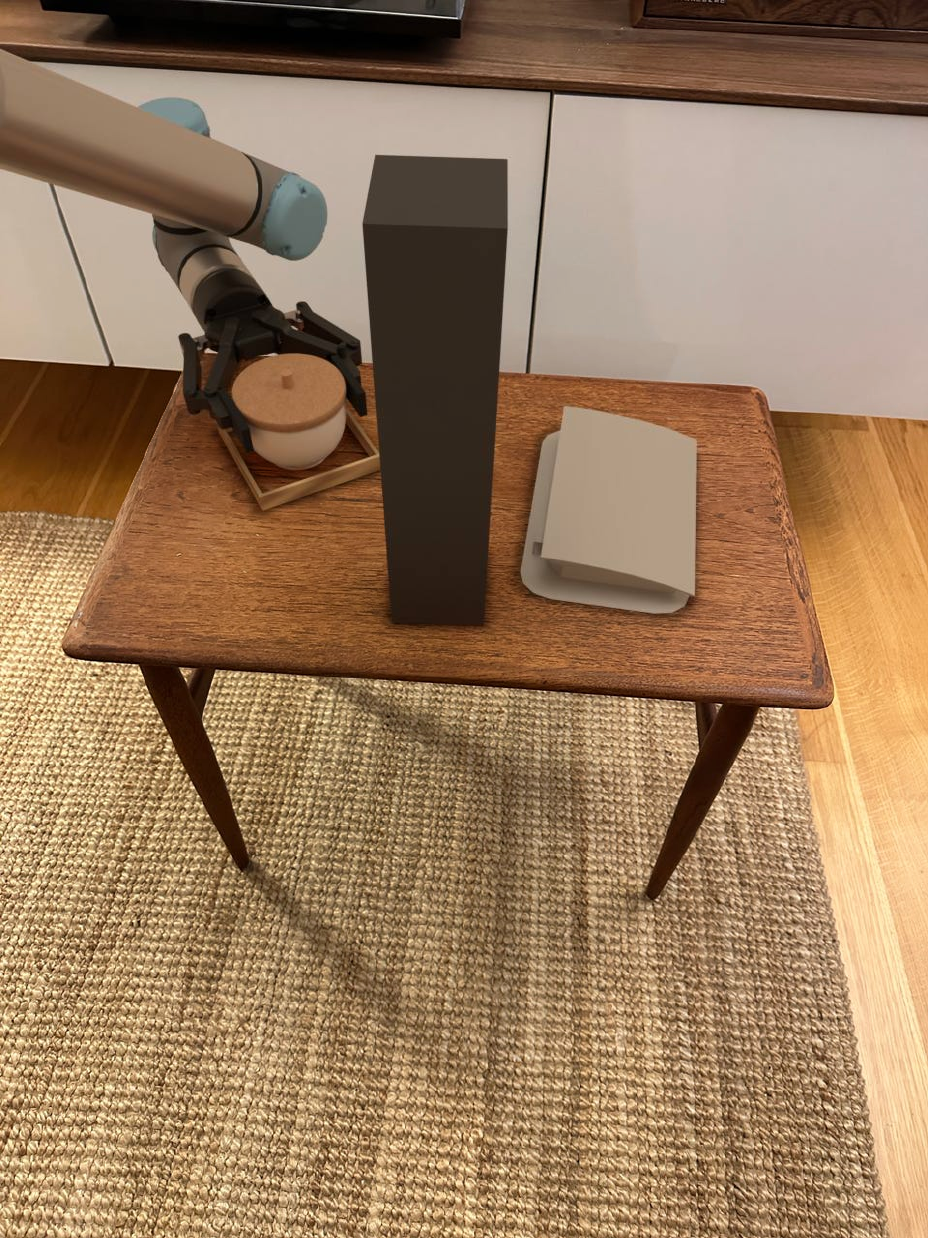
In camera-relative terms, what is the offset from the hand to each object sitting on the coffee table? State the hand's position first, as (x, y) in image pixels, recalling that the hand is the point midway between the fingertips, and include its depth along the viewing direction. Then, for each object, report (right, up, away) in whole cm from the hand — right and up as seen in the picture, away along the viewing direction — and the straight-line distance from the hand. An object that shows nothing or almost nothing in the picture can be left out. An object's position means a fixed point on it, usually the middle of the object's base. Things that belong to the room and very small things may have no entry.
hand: (306, 422), depth 84 cm
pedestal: (+12, -16, -3) cm, 20 cm away
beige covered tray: (+29, -8, +3) cm, 30 cm away
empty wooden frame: (-2, -1, +7) cm, 8 cm away
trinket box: (-2, -1, +7) cm, 8 cm away
